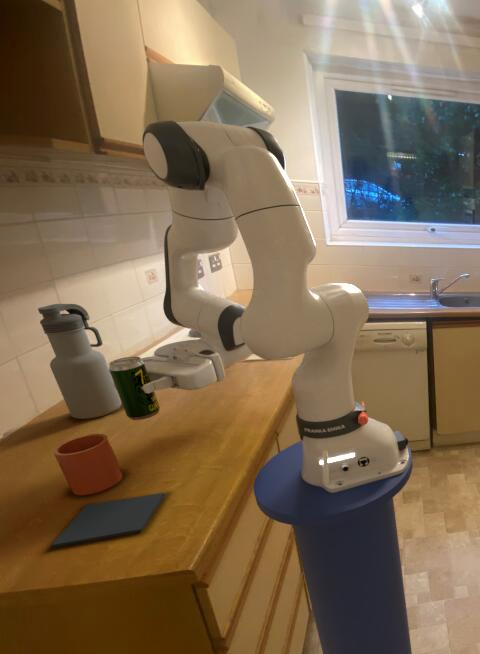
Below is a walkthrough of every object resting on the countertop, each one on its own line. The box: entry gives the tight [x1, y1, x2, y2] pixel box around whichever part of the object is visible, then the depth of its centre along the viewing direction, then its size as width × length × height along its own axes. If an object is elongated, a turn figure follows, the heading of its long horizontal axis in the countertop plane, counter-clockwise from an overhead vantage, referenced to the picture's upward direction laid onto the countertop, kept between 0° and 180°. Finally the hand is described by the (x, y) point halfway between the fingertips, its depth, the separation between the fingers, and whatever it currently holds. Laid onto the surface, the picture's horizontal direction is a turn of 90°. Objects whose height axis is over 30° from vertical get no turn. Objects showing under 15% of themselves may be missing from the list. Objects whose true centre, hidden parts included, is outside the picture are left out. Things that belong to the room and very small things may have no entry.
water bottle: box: [37, 303, 122, 420], centre depth 107 cm, size 10×10×28 cm
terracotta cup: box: [53, 433, 123, 496], centre depth 83 cm, size 7×7×9 cm
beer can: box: [108, 356, 161, 421], centre depth 88 cm, size 5×5×12 cm
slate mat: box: [51, 492, 166, 549], centre depth 76 cm, size 12×10×1 cm
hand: (129, 388), depth 87 cm, fingers closed on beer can, 5 cm apart
